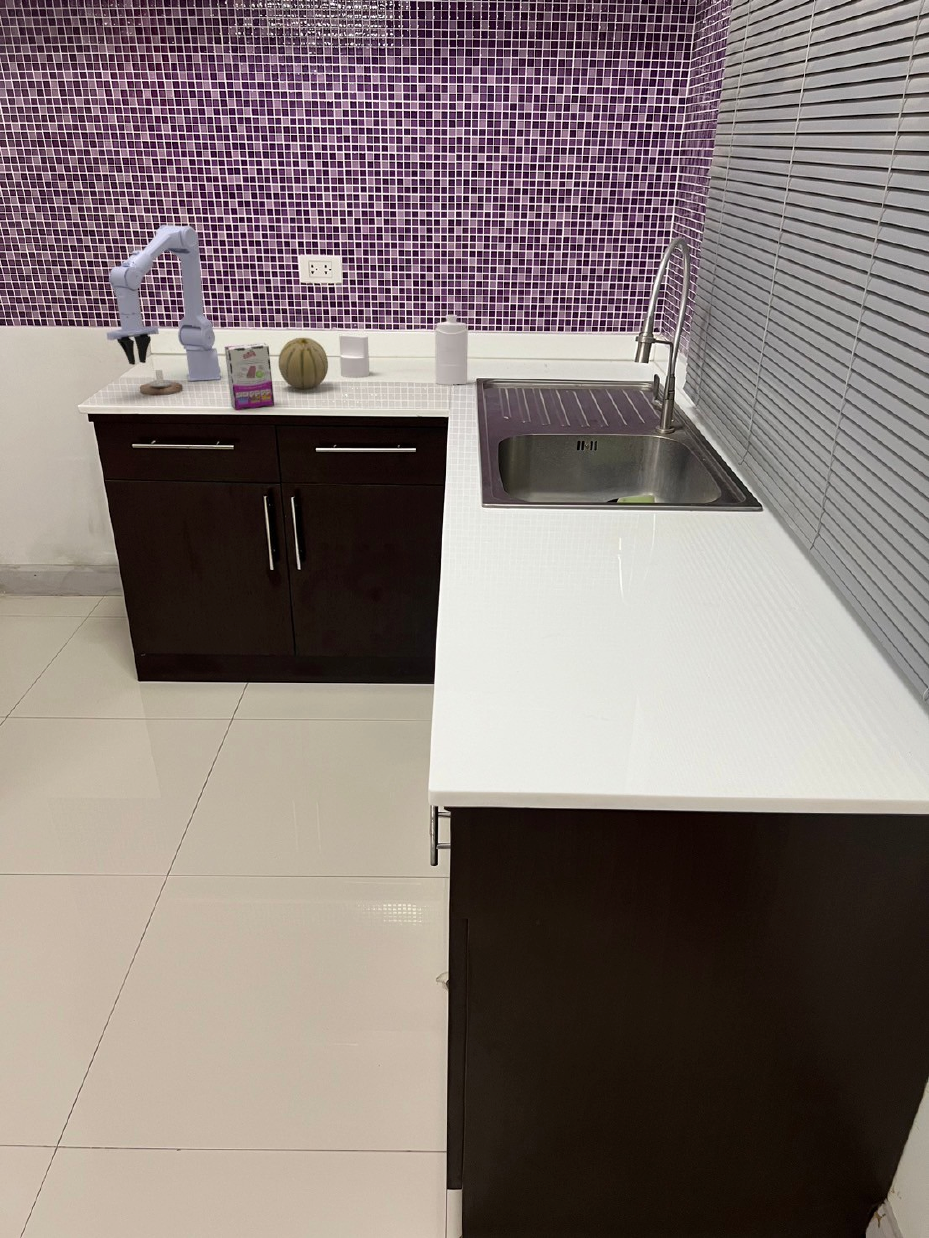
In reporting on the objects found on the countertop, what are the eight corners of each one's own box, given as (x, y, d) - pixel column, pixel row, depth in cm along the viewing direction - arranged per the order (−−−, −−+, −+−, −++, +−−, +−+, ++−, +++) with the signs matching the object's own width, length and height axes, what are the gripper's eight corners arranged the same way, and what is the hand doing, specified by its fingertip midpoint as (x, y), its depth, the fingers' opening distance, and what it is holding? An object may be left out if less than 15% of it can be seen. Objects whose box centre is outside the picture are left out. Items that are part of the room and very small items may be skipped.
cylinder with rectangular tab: (335, 376, 292) (333, 337, 287) (349, 370, 300) (347, 332, 294) (361, 378, 289) (359, 339, 284) (374, 373, 297) (373, 334, 291)
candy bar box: (269, 402, 262) (264, 342, 254) (274, 406, 258) (269, 345, 250) (230, 406, 257) (223, 345, 250) (235, 410, 253) (228, 348, 246)
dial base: (182, 384, 280) (181, 380, 279) (183, 393, 270) (182, 389, 269) (140, 387, 277) (139, 382, 276) (140, 396, 267) (139, 391, 266)
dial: (150, 384, 274) (148, 368, 272) (171, 382, 276) (169, 367, 274) (150, 389, 268) (147, 374, 266) (171, 388, 269) (169, 373, 267)
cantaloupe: (310, 380, 286) (307, 330, 280) (339, 388, 277) (337, 336, 270) (270, 388, 277) (265, 336, 270) (299, 396, 268) (295, 343, 261)
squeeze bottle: (466, 385, 282) (467, 382, 286) (467, 317, 273) (468, 314, 277) (435, 385, 282) (436, 381, 287) (434, 316, 273) (435, 314, 278)
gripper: (112, 317, 249) (120, 369, 255) (161, 312, 258) (168, 361, 264) (99, 314, 253) (108, 365, 259) (148, 309, 263) (155, 358, 269)
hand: (137, 363), depth 262 cm, fingers open, 3 cm apart
